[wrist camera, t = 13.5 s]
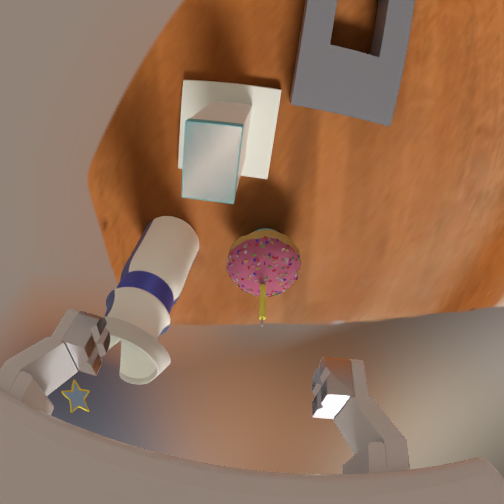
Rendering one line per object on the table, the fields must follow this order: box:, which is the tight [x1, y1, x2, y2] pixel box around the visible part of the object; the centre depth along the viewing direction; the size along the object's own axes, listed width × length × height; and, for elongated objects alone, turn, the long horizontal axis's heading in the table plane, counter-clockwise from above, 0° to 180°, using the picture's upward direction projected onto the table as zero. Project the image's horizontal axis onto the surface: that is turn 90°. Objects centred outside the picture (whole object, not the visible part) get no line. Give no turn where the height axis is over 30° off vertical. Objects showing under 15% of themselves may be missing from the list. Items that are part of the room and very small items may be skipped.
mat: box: [178, 80, 281, 179], centre depth 32 cm, size 10×10×1 cm
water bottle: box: [61, 216, 199, 413], centre depth 31 cm, size 8×9×25 cm
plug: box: [182, 100, 252, 204], centre depth 27 cm, size 4×6×11 cm
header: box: [290, 0, 415, 127], centre depth 23 cm, size 10×20×4 cm, turn 173°
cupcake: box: [226, 228, 301, 326], centre depth 36 cm, size 9×8×12 cm
